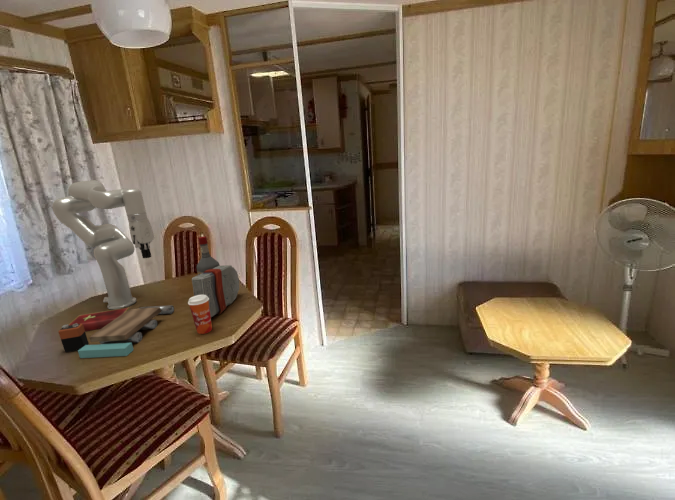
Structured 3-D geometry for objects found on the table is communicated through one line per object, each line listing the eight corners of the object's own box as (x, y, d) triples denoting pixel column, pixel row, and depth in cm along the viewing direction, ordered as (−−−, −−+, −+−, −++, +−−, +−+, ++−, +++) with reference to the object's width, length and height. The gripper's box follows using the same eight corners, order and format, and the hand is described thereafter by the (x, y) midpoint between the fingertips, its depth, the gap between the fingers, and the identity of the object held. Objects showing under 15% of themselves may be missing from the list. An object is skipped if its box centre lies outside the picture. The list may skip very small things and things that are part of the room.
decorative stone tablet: (203, 276, 145) (238, 260, 174) (188, 277, 146) (226, 260, 175) (209, 322, 148) (243, 299, 177) (195, 322, 150) (231, 299, 178)
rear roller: (138, 317, 164) (136, 309, 163) (143, 313, 167) (141, 305, 166) (170, 315, 162) (168, 307, 161) (174, 311, 166) (173, 303, 165)
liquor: (218, 291, 186) (206, 234, 178) (227, 295, 179) (215, 236, 171) (201, 297, 179) (188, 238, 171) (209, 301, 173) (197, 240, 165)
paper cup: (195, 337, 139) (188, 303, 135) (193, 329, 145) (186, 297, 142) (216, 331, 142) (210, 298, 138) (213, 324, 149) (207, 292, 145)
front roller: (118, 332, 150) (116, 324, 149) (124, 327, 154) (122, 319, 153) (153, 330, 149) (150, 322, 148) (158, 326, 153) (155, 317, 151)
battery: (70, 347, 141) (62, 324, 138) (89, 344, 142) (82, 320, 139) (64, 353, 137) (56, 329, 134) (84, 349, 138) (77, 325, 135)
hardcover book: (122, 326, 156) (119, 317, 155) (68, 335, 152) (65, 326, 151) (131, 315, 168) (129, 306, 166) (81, 323, 164) (78, 314, 163)
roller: (142, 340, 142) (141, 330, 142) (136, 343, 138) (135, 334, 138) (107, 342, 143) (105, 332, 143) (99, 345, 140) (98, 336, 139)
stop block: (80, 358, 132) (77, 350, 131) (88, 352, 136) (85, 345, 135) (126, 355, 130) (124, 348, 129) (133, 349, 134) (131, 342, 133)
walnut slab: (90, 341, 135) (89, 337, 134) (130, 313, 158) (129, 309, 157) (126, 340, 133) (124, 335, 133) (161, 311, 156) (160, 307, 156)
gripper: (135, 220, 152) (145, 262, 157) (155, 213, 166) (163, 252, 171) (118, 221, 152) (129, 263, 157) (139, 215, 167) (148, 253, 172)
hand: (147, 257), depth 164 cm, fingers closed
